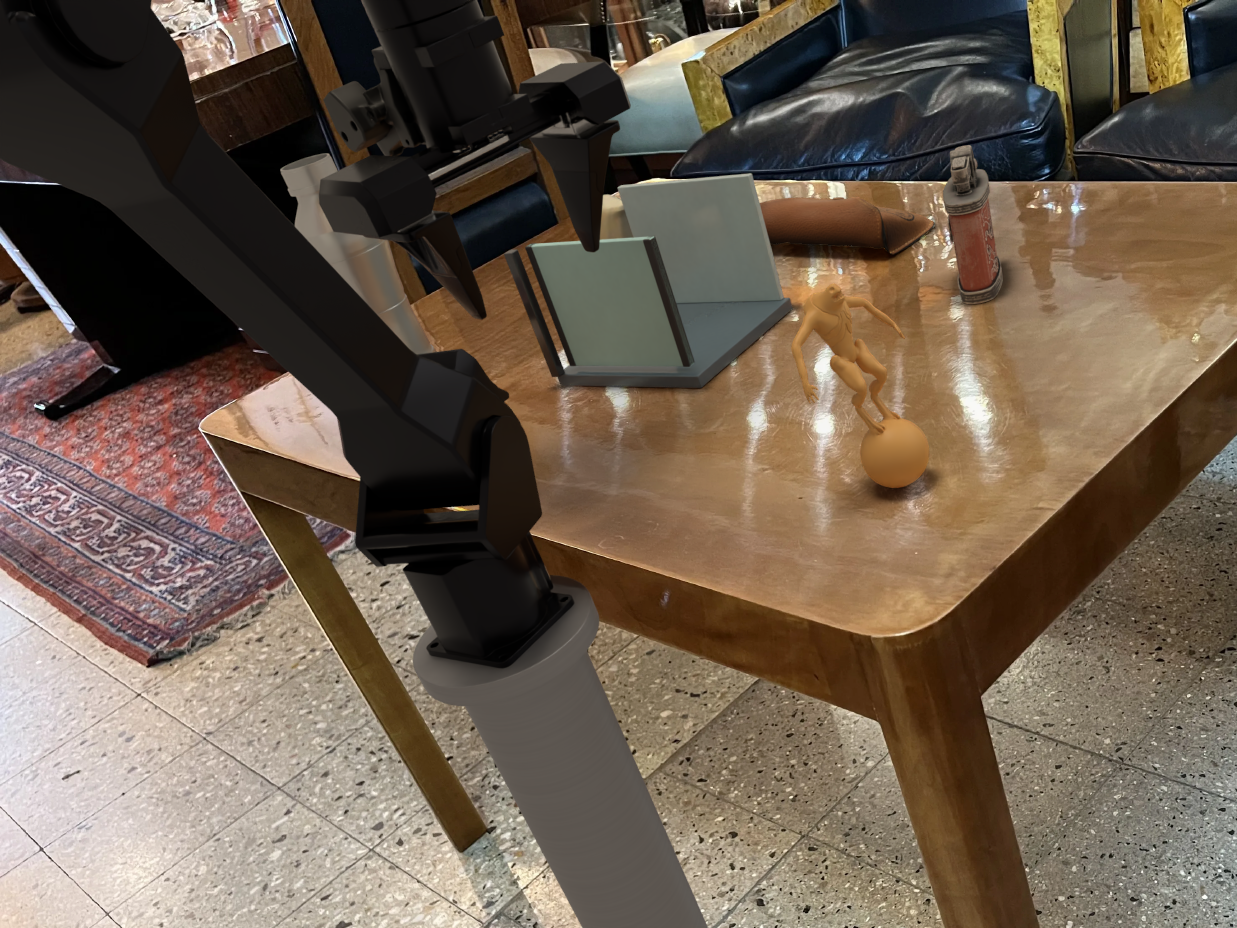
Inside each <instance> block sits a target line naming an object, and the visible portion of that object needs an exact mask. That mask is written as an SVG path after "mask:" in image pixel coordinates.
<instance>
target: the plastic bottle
mask: <svg viewBox="0 0 1237 928" xmlns="http://www.w3.org/2000/svg"><path fill="white" fill-rule="evenodd" d="M337 171H338V169H337V166H336V165H335V162H334V160H333V158H332V156H331V155H330V153H320V154H315V155H311V156H308V157H304V158H301V159H299V160H296V161H294V162H291V163H288V164H287V165H285V166H283V167H281V168H280V174H281V176H282V178H283V180H284V182H285V184H286V186H287V191H288V193H289V195H290V197H295V198H296V200H297V209H296V215H295V220H294V226H295V227H296V228H297V229H298V230H299V232H300V233H301V234H302V235H303V236H304V237H305V238H306V239H307V240H308V241H309V242H310V243H311V244H312V245H313V246H314V248H315V249H316V250H317V251H318V252H319V253H320V254H321V255H322V256H323V257H324V258H325V259H326V260H327V261H328V262H329V264H330V265H331V266H332V267H333V268H334V269H335V270H336V271H337V272H338V273H339V274H340V275H341V276H342V277H343V279H344V280H345V281H346V282H347V283H348V284H349V285H350V286H351V287H352V288H353V289H354V290H355V291H356V292H357V293H358V295H359V296H360V297H361V298H362V299H363V300H364V301H365V302H366V303H367V304H368V305H369V306H370V307H371V308H372V310H373V311H374V312H375V313H376V314H377V315H378V316H379V317H380V318H381V319H382V320H383V321H384V322H385V323H386V324H387V326H388V327H389V328H390V329H391V330H392V331H393V332H394V333H395V334H396V335H397V336H398V337H399V338H400V339H401V340H402V342H403V343H404V344H405V345H406V346H407V347H408V348H409V349H410V350H412V351H413V352H414V353H415V354H424V353H431V352H438V351H437V350H436V348H435V347H434V345H433V344H431V341H430V339H429V338H428V336H427V334H426V332H425V330H424V328H423V327H422V325H421V322H420V320H419V319H418V317H417V315H416V313H415V311H414V310H413V308H412V305H411V304H410V301H409V299H408V296H407V294H406V293H405V290H404V289H405V288H404V286H403V282H402V280H401V277H400V275H399V272H398V269H397V265H396V263H395V259H394V255H393V252H392V249H391V245H390V240H382V239H374V238H366V237H364V236H363V235H355V234H347V233H339V232H333V230H332V228H331V226H330V224H329V222H328V220H327V218H326V216H325V214H324V212H323V210H322V208H321V206H320V204H319V188H320V179H322V178H325V177H327V176H329V175H331V174H333V173H335V172H337Z"/></svg>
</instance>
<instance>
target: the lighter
mask: <svg viewBox="0 0 1237 928" xmlns="http://www.w3.org/2000/svg"><path fill="white" fill-rule="evenodd" d="M949 151H950V152H949V160H950V161H949V162H950V173H951V177H950V178H949V179H948V180H947V182H946V183H945V185H944V187H943V190H942V199H943V200H942V201H943V206H944V210H945V212H946V214H948V215H947V229H948V234H949V240H950V242H951V243H953V248H954V254H955V259H956V265H957V271H958V275H957V287H958V292H959V293H958V294H959V297H960V299H961V302H962V303H963V304H967V305H976V304H981V303H982V304H983V303H985V302H986V303H987V302H989V301H991V300H993V299H995V298H996V297H997V295H998V294H999V292H1000V290H1001V289H1002V285H1003V282H1004V276H1003V269H1002V263H1001V259H1000V257H999V255H998V253H997V247H996V239H995V234H994V226H993V219H992V214H991V213H992V212H991V207H990V200H989V196H990V193H991V189H990V182H989V175H988V174H987V172H986V170H984V169H982V168H981V169H980V168H978V161H977V159H976V158H975V157H974V150H973V147H972V146H971V145H969V144H968V145H962V146H958V147H956V148H955V149H953V150H949Z"/></svg>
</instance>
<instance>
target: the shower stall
mask: <svg viewBox="0 0 1237 928" xmlns="http://www.w3.org/2000/svg"><path fill="white" fill-rule="evenodd" d="M617 191H618V194H619V198H620V199H621V201H622V204H623V207H624V210H625V213H626V216H627V219H628V222H629V225H630V228H631V231H632V234H633V237H648V236H655V237H656V241H657V244H658V247H659V250H660V253H661V257H662V260H663V263H664V266H665V269H666V272H667V276H668V279H669V282H670V285H671V288H672V291H673V295H674V298H675V301H676V304H677V307H678V310H679V314H680V317H681V320H682V323H683V326H684V329H685V333H686V336H687V339H688V342H689V345H690V348H691V352H692V355H693V358H694V361H695V363H694V364H692V365H691V366H690V367H683V366H570V365H569V364H568V365H567V366H566V367H564V366H563V364H562V361H561V358H560V355H559V353H558V351H557V348H556V345H555V342H554V340H553V337H552V335H551V332H550V330H549V327H548V325H547V322H546V319H545V316H544V314H543V311H542V309H541V306H540V303H539V301H538V298H537V295H536V294H535V291H534V287H533V285H532V283H531V280H530V277H529V275H528V272H527V270H526V268H525V265H524V262H523V260H522V256H521V254H520V251H519V249H509V250H508V251H506V252H504V253H503V255H504V259H505V262H506V264H507V267H508V268H509V272H510V274H511V276H512V279H513V282H514V284H515V286H516V289H517V292H518V295H519V297H520V299H521V302H522V304H523V306H524V307H523V308H524V309H525V312H526V315H527V318H528V319H529V322H530V325H531V327H532V330H533V332H534V335H535V337H536V340H537V343H538V345H539V348H540V350H541V353H542V355H543V358H544V360H545V362H546V365H547V368H548V371H549V374H550V376H551V377H552V378H557V380H558V383H559V385H560V386H563V387H564V386H565V387H566V386H567V387H569V386H571V387H572V386H573V387H622V388H623V387H626V388H629V387H631V388H674V389H675V388H679V389H680V388H682V389H683V388H684V389H689V388H690V389H702V388H703V387H705V386H706V385H707V384H708V383H709V382H711V380H712V379H714V378H715V377H716V376H717V375H718V374H719V373H720V372H722V371H723V370H724V369H725V368H727V366H728V365H730V364H731V363H732V362H733V361H734V360H735V359H737V357H740V355H741V354H742V353H743V352H745V351H746V350H747V349H749V347H750V346H752V345H753V344H754V343H756V341H758V339H760V338H761V337H762V336H763V335H765V333H766V332H768V331H769V330H770V329H771V328H772V327H774V326H775V325H776V324H777V323H778V322H779V321H780V320H782V319H783V318H784V317H785V316H786V315H787V314H789V313H790V312H791V311H792V310H793V303H792V299H791V297H785V295H784V291H783V287H782V284H781V280H780V277H779V273H778V269H777V265H776V260H775V258H774V257H775V256H774V253H773V249H772V246H771V245H772V244H770V241H769V238H768V234H767V230H766V226H765V222H764V218H763V214H762V211H761V207H760V203H761V202H760V199H759V196H758V192H757V187H756V184H755V180H754V176H753V173H741V174H730V175H719V176H717V175H716V176H709V177H708V176H707V177H697V178H686V179H675V180H665V181H654V182H641V183H632V184H623V185H622V184H621V185H619V186H618V187H617Z"/></svg>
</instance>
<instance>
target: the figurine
mask: <svg viewBox="0 0 1237 928" xmlns="http://www.w3.org/2000/svg"><path fill="white" fill-rule="evenodd" d="M857 308H864V309H865V310H866V312H868V313H869V314H870V315H872V316H873V317H874V318H875V319H877V320H878V321H880V322H882V323H883V324H886V325H888V326H890V327H891V328H893V329H894V330H895V331H896V332H897V333H898V334H899V337H901V339H903V340H906V337H905V335H904V334H903V332H902V331H901V329H900V327H899V326H898V324H897V323H896V322H895V321H894V320H892V319H891V317H889V316H888V314H886V313H884V312H883V311H881V310H880V309H878V308H877V307H875V306H874V305H873V304H872V303H871V302H870V301H869V300H867V299H866V298H864V297H860V296H852V295H851V296H847V295H845V294H844V293H843V289H842V287H841V286H840V285H838V284H837V283H836V282H835V283H831V284H829V285H828V286H827V287H826V288H825V290H821V291H819V292H814V293H812V294H810V295H809V296H808V297H807V298H806V300H805V301H804V304H803V315H804V316H803V318H802V322H801V325H800V327H799V329H798V330H797V333H796V334H795V336H794V338H793V340H792V342H791V345H790V349H791V354H792V357H793V359H794V363H795V365H796V369H797V372H798V375H799V378H800V381H801V384H802V389H803V390H802V391H803V393H804V396H805V398H806V400H807V402H808V404H811V403H813V404H816V401H815V400H814V398H815V399H816V400H817V401H819V400H820V399H819V398H818V396H817V394H816V393H815V391H814V390H816V391H819V388H818V387H816V386H815V385H812V384H810V382H809V373H808V368H807V365H806V363H805V360H804V356H803V351H802V347H803V345H804V344H805V343H806V341H807V340H808V339H809V337H810V336H811V334H812V332H813V331H814V332H815V333H816V334H817V335H818V336H819V338H821V339H822V340H823V342H824V343H825V344H826V345H827V346H828V347H829V348H830V351H831V352H832V353H833V354H834V355H832V356H831V358H829V359H830V360H829V367H830V368H831V370H832V372H833V373H835V374H836V375H837V376H838V378H839V379H840V380H842V382H843V383H844V384H845V385H846V386H847V387H848V388H849V389H851V390H852V391H853V392H855V393H854V394H853V395H852V397H851V400H850V401H851V404H852V406H854V409H855V412H856V413H857V415H858V416H859V417H860V419H861V420H862V421H863V422H864V424H865V425H866V427H867V428H868V430H867V431H866V433H865V434H864V436H863V437H862V440H861V443H860V447H859V448H860V449H859V457H860V462H861V466H862V468H863V471H864V472H865V474H866V475H867V476H868V477H869V478H870V479H871V481H873V482H875V484H877V485H880V486H882V487H885V488H890V489H891V488H892V489H899V488H904V487H908V486H910V485H911V484H913V483H915V482H916V481H918V480H919V478H920V477H922V475H923V474H924V472H925V470H926V469H927V467H928V463H929V461H930V446H929V440H928V439H927V436H926V435H925V433H924V431H923V430H922V429H921V428H920V427H919V426H918V425H917V424H915V423H914V422H912V421H910V420H908V419H906V418H902V417H901V416H900V415H899V414H898V413H897V412H895V411H892V410H891V409H889V407H887V405H886V404H885V402H883V400H882V399H881V397H880V396H879V393H880V392H881V391H882V389H883V387H884V385H885V384H886V382H887V379H888V369H887V368H886V367H885V366H884V365H883V364H882V363H880V362H879V360H878V359H877V358H876V357H875V356H874V355H873V354H872V353H871V352H870V349H869V348H868V346H867V345H866V343H865V341H864V340H863V339H862V338H857V339H856V340H854V338H853V326H852V325H853V318H852V312H851V310H850V309H857ZM863 373H865V374H869V375H872V376H873V377H874V378H875V379H874V380H872V381H870V384H869V386H868V385H867V382H866V380H865V379H864V377H863ZM868 391H869V393H870V399H871V401H872V403H873V404H874V405H875V407H876V409H877V411H879V413H880V414H881V415H882V419H881V420H880V421H876V420H875V419H874V418H873V417H872V416H871V415H870V414H869V413H868V411H867V410H866V408H864V407H863V404H865V400H866V398H867V394H868ZM813 397H814V398H813ZM811 401H812V402H811Z"/></svg>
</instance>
